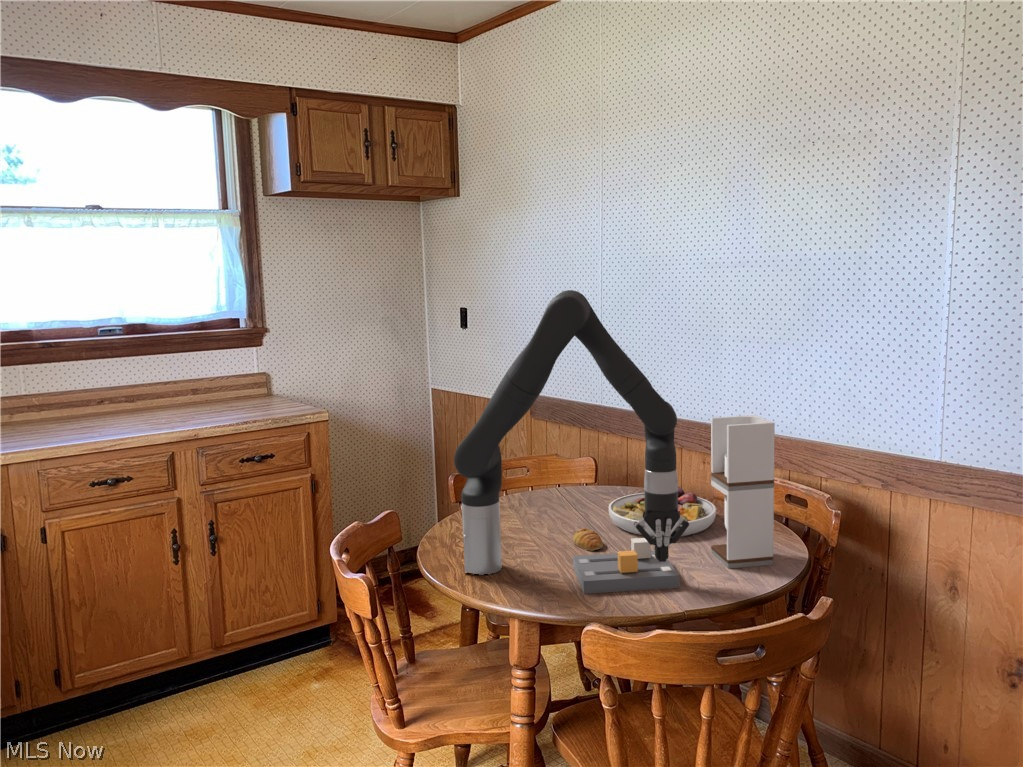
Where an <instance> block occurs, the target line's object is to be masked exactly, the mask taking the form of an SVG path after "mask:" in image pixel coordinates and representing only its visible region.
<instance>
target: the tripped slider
mask: <svg viewBox="0 0 1023 767" xmlns="http://www.w3.org/2000/svg"><path fill="white" fill-rule="evenodd" d="M617 553H618V569H619V571H620V573H626V572H638V555H637V553H636V552H635V550H634V551H631V550H621V551H619V550H618V551H617Z"/></svg>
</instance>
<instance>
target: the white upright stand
mask: <svg viewBox="0 0 1023 767" xmlns="http://www.w3.org/2000/svg"><path fill="white" fill-rule="evenodd" d="M710 425H711V426H710V430H711V431H710V432H711V433H710V435H711V436H710V443H711V447H710V451H711V453H710V456H711V457H710V461H711V462H710V468H711V469H710V472H711V474H710V481H711V482H710V485H711V486H712V488H714V489H716V490H717V491H719V492H721V493H722V495H723V494H724V527H725V529H726V543H725V544H714V545H712V544H711V545H710V546H711V547H710V550H711V552H710V553H711V554H712V555H713V556H714V557H715V558H716V559H717V560H718V561H719V562H720V561H721V563H722V564H723V565H724V566H725V567H726V568H727V569H738V568H749V567H760V566H771V565H774V526H775V525H774V524H775V523H774V520H775V519H774V517H775V516H774V515H775V514H774V513H775V512H774V511H775V506H774V505H775V503H774V502H775V442H776V441H775V437H776V436H775V433H776V432H775V431H776V430H775V426H776V422H774V421H771V420H768V419H767V418H763V417H761V416H758V415H756V414H752V415H748V414H747V415H736V416H735V415H734V416H719V417H717V416H716V417H715V416H714V417H711V418H710Z"/></svg>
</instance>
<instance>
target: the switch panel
mask: <svg viewBox="0 0 1023 767" xmlns="http://www.w3.org/2000/svg"><path fill="white" fill-rule="evenodd" d="M572 569H573V570H574V573H575V576H576V578H577V581H578V583H579V586H580V587H581V590H582V593H583V594H587V595H588V594H601V593H615V592H617V593H618V592H619V593H620V592H633V591H647V590H660V589H661V590H662V589H663V590H664V589H679V588H680V587H681V586H680V574H679V572H678V571H677V570H676V569H675V567H674V566H673V564H672V563H671V562H670V560H669V558H668V559H666V562H659V561H658V560H657V558H656V557H655V550H651V558H641V559H638V572H626V573H620V571H619V569H618V552H617V553H615V552H613V553H599V554H597V553H596V554H585V555H572Z"/></svg>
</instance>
